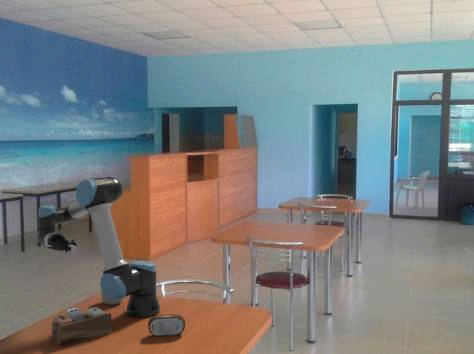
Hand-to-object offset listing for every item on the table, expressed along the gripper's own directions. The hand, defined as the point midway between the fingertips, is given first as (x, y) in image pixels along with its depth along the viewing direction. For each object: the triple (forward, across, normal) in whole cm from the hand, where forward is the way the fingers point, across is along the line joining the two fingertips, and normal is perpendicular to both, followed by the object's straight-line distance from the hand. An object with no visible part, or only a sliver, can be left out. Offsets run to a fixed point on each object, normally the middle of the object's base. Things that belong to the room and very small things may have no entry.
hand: (75, 250), depth 228 cm
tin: (+44, -19, -30) cm, 56 cm away
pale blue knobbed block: (+16, +8, -28) cm, 33 cm away
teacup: (-7, -22, -30) cm, 38 cm away
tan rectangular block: (+21, +15, -28) cm, 37 cm away
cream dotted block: (+21, +1, -28) cm, 34 cm away
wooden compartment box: (+22, +8, -30) cm, 38 cm away
